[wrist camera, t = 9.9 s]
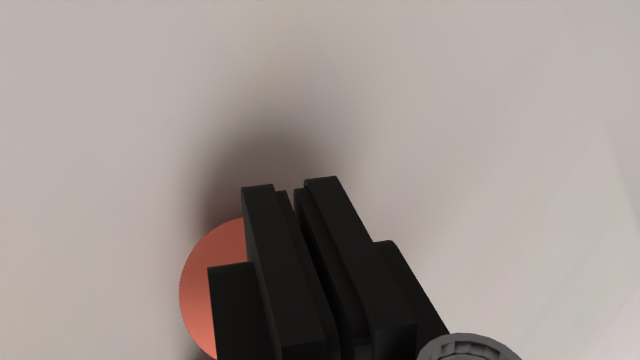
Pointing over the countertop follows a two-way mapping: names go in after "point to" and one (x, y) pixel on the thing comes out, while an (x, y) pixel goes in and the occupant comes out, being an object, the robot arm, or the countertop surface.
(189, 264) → the ball
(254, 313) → the robot arm
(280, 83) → the countertop surface
